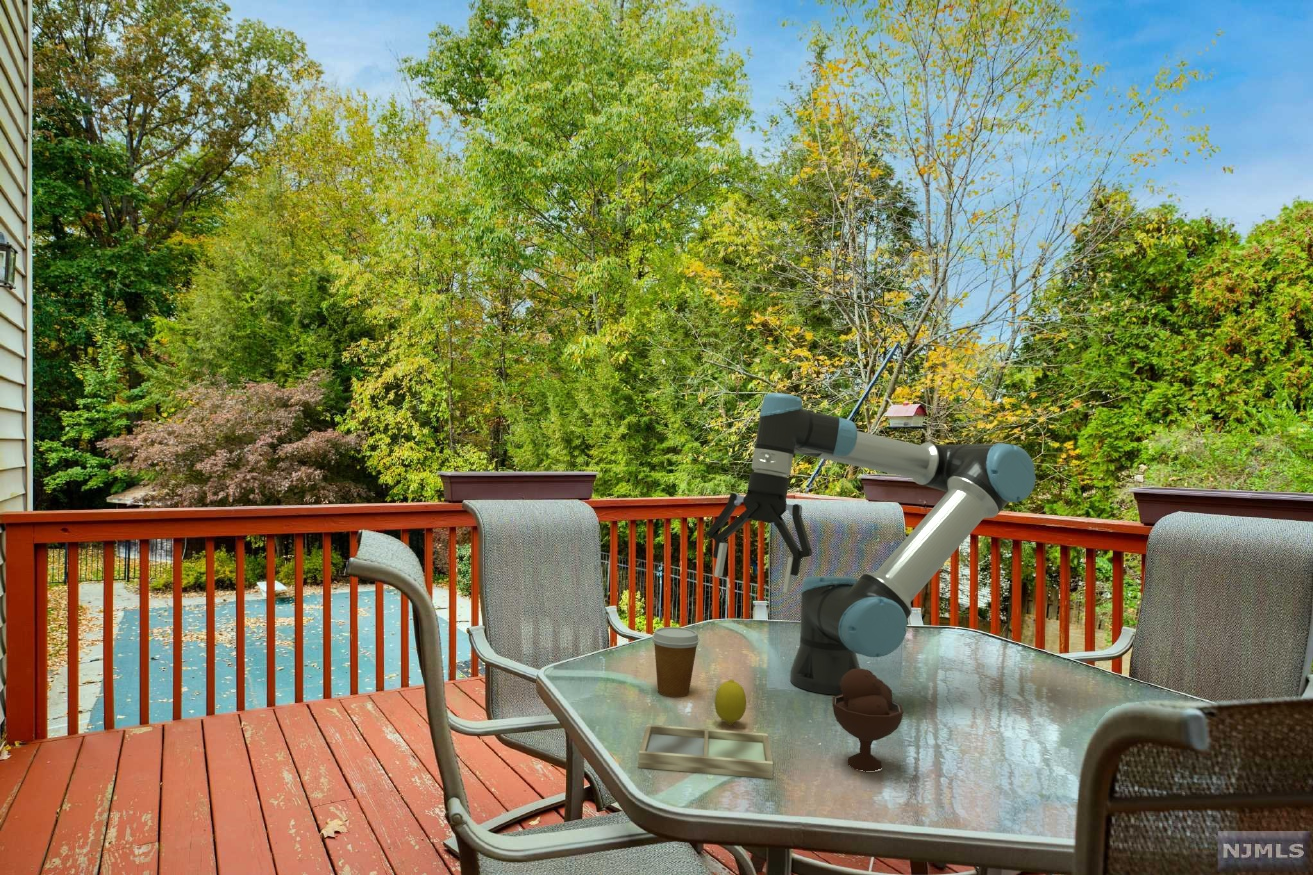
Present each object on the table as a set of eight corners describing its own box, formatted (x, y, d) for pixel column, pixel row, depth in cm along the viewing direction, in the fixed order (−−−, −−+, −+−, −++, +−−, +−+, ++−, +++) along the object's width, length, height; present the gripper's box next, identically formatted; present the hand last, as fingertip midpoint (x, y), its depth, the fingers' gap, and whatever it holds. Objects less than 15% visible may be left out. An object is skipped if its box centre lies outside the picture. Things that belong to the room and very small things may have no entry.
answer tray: (767, 747, 120) (767, 733, 120) (772, 778, 108) (772, 763, 108) (646, 737, 122) (646, 724, 122) (638, 767, 110) (638, 752, 110)
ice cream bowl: (892, 786, 107) (895, 683, 108) (819, 766, 113) (822, 669, 114) (909, 763, 116) (912, 668, 117) (840, 745, 122) (844, 655, 123)
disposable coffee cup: (693, 702, 141) (696, 639, 141) (645, 696, 143) (648, 635, 143) (700, 687, 150) (702, 629, 151) (654, 682, 152) (657, 624, 153)
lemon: (711, 719, 132) (713, 674, 132) (741, 719, 133) (743, 675, 133) (716, 730, 127) (718, 683, 127) (748, 730, 127) (750, 684, 127)
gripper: (703, 462, 142) (684, 570, 141) (831, 482, 131) (812, 600, 130) (716, 466, 149) (698, 569, 147) (838, 485, 138) (820, 597, 137)
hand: (751, 584), depth 139 cm, fingers open, 13 cm apart
